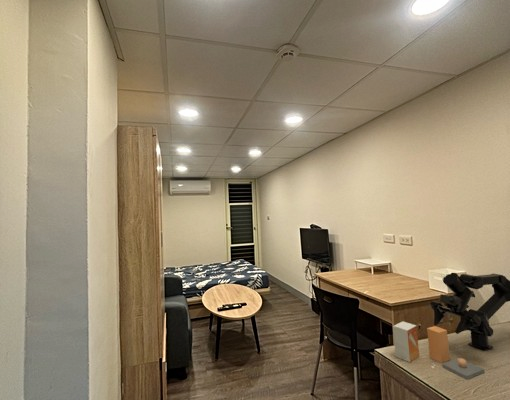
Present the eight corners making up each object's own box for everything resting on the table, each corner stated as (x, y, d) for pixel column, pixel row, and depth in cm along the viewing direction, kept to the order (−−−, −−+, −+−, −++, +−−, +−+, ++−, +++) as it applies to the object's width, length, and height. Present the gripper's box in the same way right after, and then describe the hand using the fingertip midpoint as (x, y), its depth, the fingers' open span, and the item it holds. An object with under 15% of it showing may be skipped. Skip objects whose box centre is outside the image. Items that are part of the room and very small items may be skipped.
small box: (410, 362, 110) (407, 330, 110) (395, 356, 115) (392, 325, 116) (419, 356, 114) (417, 325, 115) (404, 350, 119) (402, 320, 120)
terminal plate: (459, 360, 109) (458, 351, 109) (484, 372, 101) (483, 362, 101) (442, 367, 105) (441, 357, 106) (467, 379, 97) (466, 368, 97)
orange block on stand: (438, 354, 115) (435, 325, 115) (449, 360, 110) (446, 330, 111) (429, 357, 113) (427, 328, 114) (441, 363, 108) (438, 332, 109)
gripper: (430, 283, 125) (414, 310, 121) (473, 292, 108) (456, 325, 103) (443, 297, 127) (429, 325, 123) (488, 309, 110) (472, 342, 105)
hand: (445, 329), depth 114 cm, fingers open, 9 cm apart
